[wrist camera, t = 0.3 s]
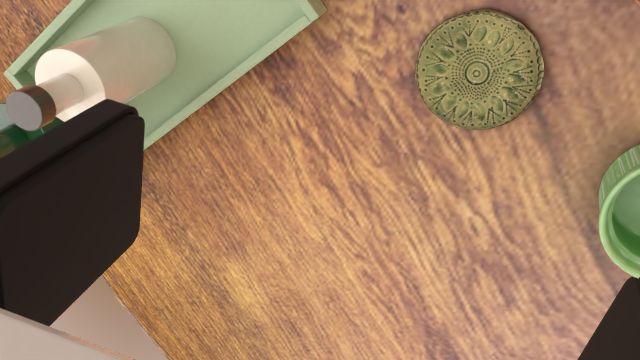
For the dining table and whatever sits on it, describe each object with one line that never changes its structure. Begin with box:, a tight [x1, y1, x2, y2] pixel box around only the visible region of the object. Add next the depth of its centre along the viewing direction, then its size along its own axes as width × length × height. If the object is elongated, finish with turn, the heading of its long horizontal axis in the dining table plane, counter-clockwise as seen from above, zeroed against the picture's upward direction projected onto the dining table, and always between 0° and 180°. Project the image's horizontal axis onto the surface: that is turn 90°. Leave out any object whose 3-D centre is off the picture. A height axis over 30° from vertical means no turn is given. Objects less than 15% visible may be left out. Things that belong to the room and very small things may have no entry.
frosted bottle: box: [6, 17, 176, 131], centre depth 38 cm, size 5×5×13 cm
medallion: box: [415, 9, 544, 130], centre depth 38 cm, size 8×8×1 cm
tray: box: [3, 0, 327, 150], centre depth 43 cm, size 24×11×2 cm, turn 129°
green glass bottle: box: [0, 100, 64, 158], centre depth 41 cm, size 5×5×13 cm
